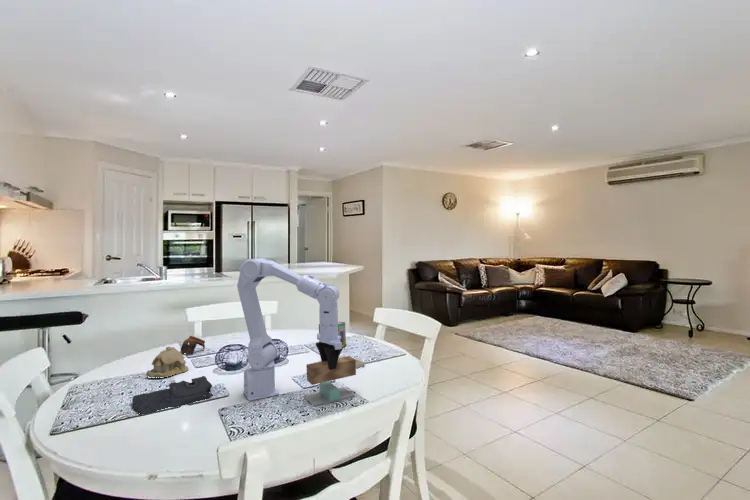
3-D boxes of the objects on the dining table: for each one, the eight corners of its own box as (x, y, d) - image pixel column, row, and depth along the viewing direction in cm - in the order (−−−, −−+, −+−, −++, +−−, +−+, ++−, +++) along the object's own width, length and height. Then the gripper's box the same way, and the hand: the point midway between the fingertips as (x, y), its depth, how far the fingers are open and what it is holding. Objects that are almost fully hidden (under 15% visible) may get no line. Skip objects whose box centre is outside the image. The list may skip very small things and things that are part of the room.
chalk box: (346, 346, 181) (346, 315, 180) (334, 351, 173) (333, 318, 172) (330, 343, 186) (330, 313, 185) (318, 348, 178) (318, 316, 177)
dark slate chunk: (129, 402, 121) (128, 387, 121) (203, 384, 135) (202, 371, 135) (137, 419, 109) (137, 402, 109) (217, 398, 123) (217, 383, 123)
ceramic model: (169, 366, 154) (169, 341, 154) (194, 368, 151) (193, 343, 151) (140, 378, 140) (140, 351, 140) (167, 381, 138) (166, 353, 137)
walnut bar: (312, 384, 117) (311, 368, 117) (306, 380, 121) (306, 364, 121) (356, 374, 125) (355, 359, 125) (349, 370, 129) (349, 355, 129)
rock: (303, 368, 152) (319, 375, 139) (303, 356, 152) (319, 362, 140) (350, 362, 163) (369, 369, 151) (350, 351, 164) (369, 357, 151)
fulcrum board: (313, 406, 116) (313, 395, 116) (303, 397, 122) (303, 386, 122) (354, 396, 123) (354, 385, 123) (343, 388, 130) (343, 378, 130)
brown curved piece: (178, 352, 175) (187, 334, 178) (199, 359, 178) (207, 342, 181) (177, 352, 164) (187, 333, 167) (199, 359, 167) (208, 341, 170)
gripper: (350, 326, 118) (350, 371, 118) (330, 318, 130) (330, 358, 131) (329, 329, 114) (329, 375, 115) (310, 321, 127) (311, 362, 127)
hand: (329, 366), depth 122 cm, fingers closed on walnut bar, 4 cm apart
